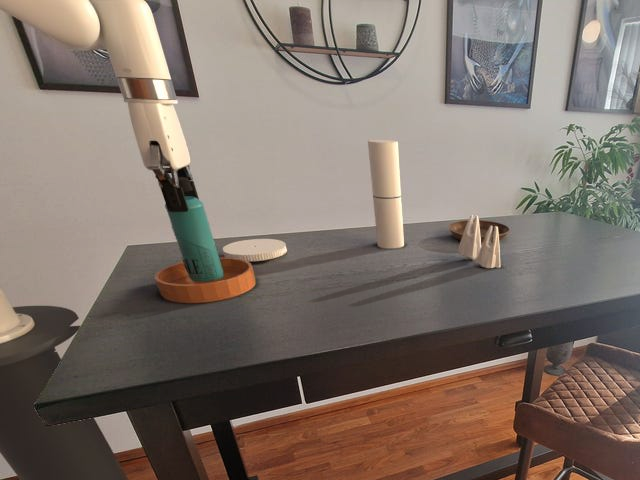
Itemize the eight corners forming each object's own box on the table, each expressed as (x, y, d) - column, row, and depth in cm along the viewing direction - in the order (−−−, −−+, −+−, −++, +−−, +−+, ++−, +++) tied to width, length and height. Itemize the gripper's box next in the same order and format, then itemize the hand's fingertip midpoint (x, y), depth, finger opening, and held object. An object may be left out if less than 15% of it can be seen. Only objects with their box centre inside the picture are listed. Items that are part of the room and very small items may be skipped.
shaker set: (456, 258, 112) (456, 213, 106) (468, 255, 114) (468, 210, 108) (489, 270, 105) (491, 222, 99) (501, 267, 107) (504, 220, 101)
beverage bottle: (231, 278, 94) (202, 175, 83) (221, 289, 88) (188, 180, 77) (197, 278, 93) (164, 174, 82) (185, 290, 87) (147, 180, 76)
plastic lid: (295, 249, 114) (293, 239, 113) (275, 266, 103) (273, 255, 101) (240, 248, 114) (237, 238, 112) (214, 265, 102) (211, 254, 101)
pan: (147, 306, 82) (140, 288, 80) (176, 275, 96) (170, 259, 94) (248, 299, 86) (243, 282, 84) (261, 271, 100) (257, 255, 98)
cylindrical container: (381, 249, 117) (371, 142, 103) (374, 242, 122) (364, 139, 108) (407, 247, 119) (401, 142, 106) (400, 240, 125) (393, 139, 111)
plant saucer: (516, 245, 124) (517, 234, 123) (454, 247, 121) (454, 235, 119) (500, 229, 139) (501, 219, 137) (444, 230, 135) (444, 220, 133)
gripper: (142, 92, 79) (176, 198, 88) (98, 91, 65) (145, 218, 74) (189, 93, 80) (217, 198, 90) (156, 93, 66) (194, 217, 76)
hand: (184, 206), depth 82 cm, fingers closed on beverage bottle, 6 cm apart
